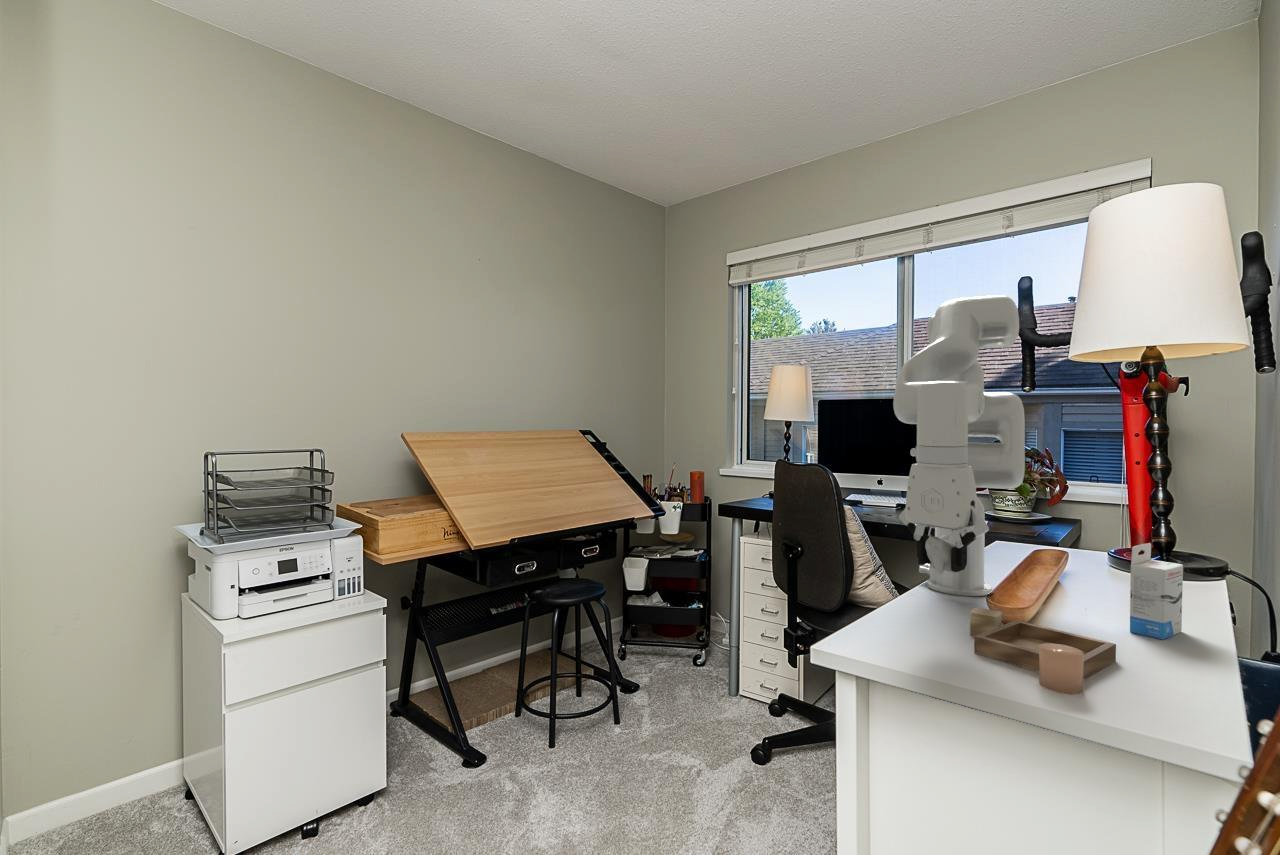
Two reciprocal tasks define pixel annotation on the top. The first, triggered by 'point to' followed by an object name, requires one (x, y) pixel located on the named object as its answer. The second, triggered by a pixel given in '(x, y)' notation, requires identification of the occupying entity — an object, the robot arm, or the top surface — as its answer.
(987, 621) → the oak block
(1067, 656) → the oval beige cylinder
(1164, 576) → the ink box
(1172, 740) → the top surface
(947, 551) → the figurine
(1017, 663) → the walnut tray
